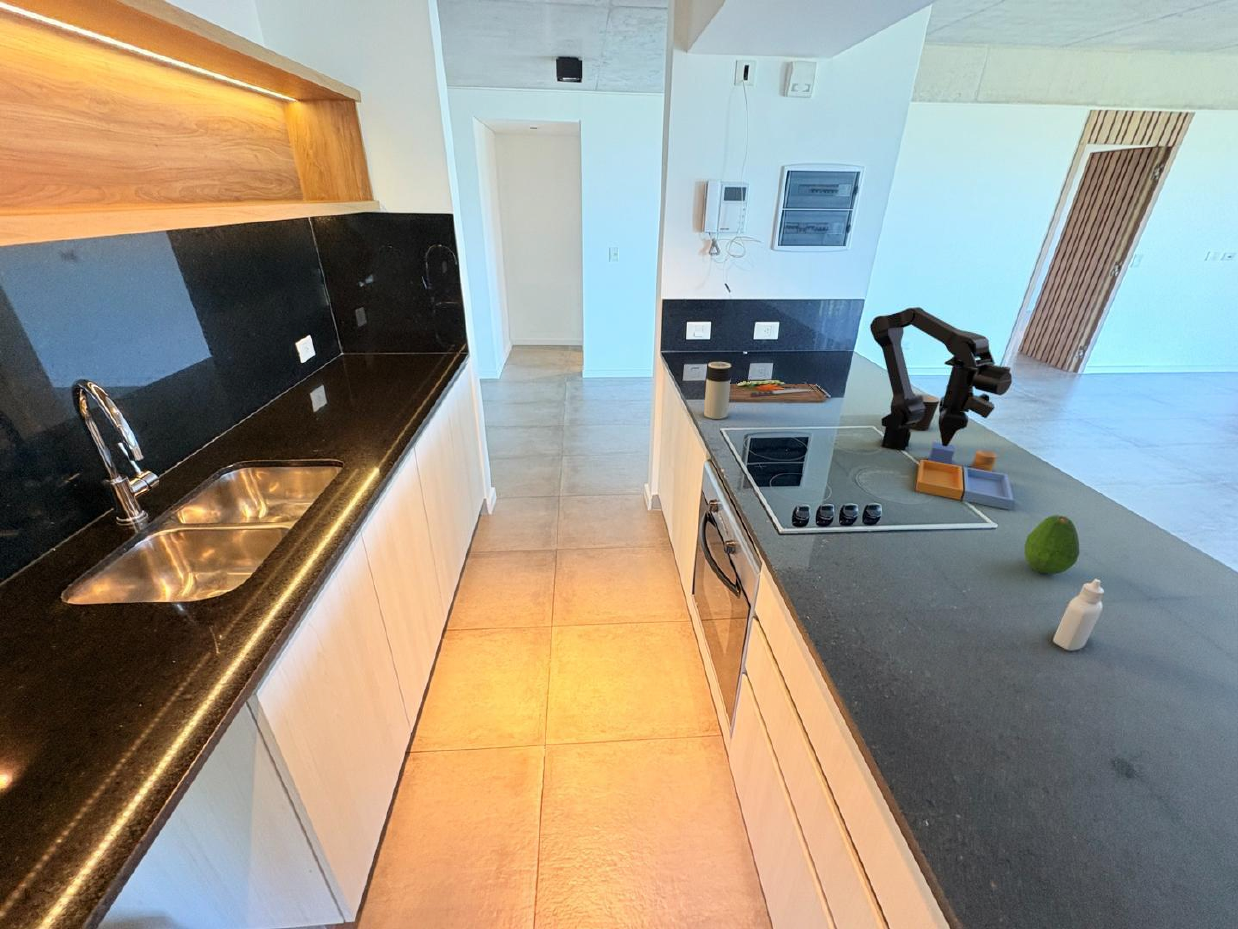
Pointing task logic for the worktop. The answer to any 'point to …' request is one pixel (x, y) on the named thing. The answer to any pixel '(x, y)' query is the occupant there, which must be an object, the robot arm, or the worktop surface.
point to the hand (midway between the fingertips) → (944, 440)
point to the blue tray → (986, 488)
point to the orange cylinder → (984, 460)
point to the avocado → (1052, 545)
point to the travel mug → (717, 390)
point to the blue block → (941, 453)
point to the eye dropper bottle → (1080, 617)
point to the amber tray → (940, 479)
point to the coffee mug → (927, 412)
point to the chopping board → (775, 392)
